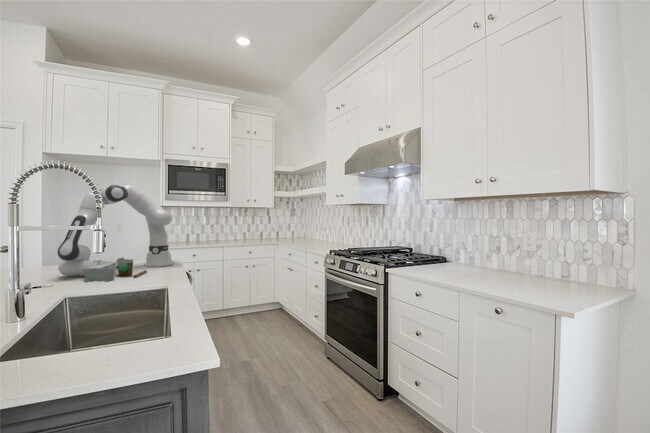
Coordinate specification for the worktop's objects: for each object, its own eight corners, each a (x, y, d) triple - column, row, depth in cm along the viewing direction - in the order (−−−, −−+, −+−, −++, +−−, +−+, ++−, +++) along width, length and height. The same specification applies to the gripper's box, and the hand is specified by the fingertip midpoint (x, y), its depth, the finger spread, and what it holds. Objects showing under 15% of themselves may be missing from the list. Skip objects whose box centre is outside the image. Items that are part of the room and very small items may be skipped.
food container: (112, 275, 189) (112, 258, 189) (123, 273, 194) (123, 257, 194) (121, 278, 182) (121, 260, 182) (133, 276, 187) (133, 259, 187)
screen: (86, 280, 174) (86, 268, 174) (114, 280, 177) (114, 268, 176) (82, 282, 171) (82, 270, 171) (110, 281, 173) (110, 269, 173)
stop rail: (144, 272, 198) (144, 270, 198) (146, 272, 198) (146, 270, 198) (133, 278, 182) (133, 275, 182) (135, 278, 182) (135, 275, 182)
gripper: (81, 265, 176) (108, 265, 178) (101, 259, 196) (125, 259, 198) (81, 276, 176) (108, 276, 178) (101, 270, 196) (125, 269, 198)
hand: (117, 267), depth 188 cm, fingers closed
